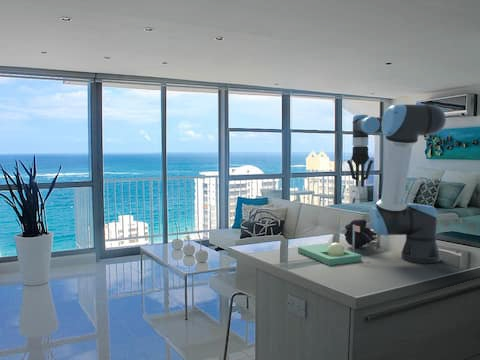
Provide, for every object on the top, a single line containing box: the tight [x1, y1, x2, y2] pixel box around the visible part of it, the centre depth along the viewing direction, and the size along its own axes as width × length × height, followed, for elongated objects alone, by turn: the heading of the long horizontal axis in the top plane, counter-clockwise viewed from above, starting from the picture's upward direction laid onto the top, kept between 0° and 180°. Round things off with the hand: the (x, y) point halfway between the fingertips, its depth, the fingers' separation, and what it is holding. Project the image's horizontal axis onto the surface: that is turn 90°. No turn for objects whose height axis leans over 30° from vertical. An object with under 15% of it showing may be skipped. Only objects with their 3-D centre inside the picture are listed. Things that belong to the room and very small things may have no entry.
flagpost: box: [352, 225, 360, 253], centre depth 178 cm, size 4×1×14 cm, turn 23°
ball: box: [327, 242, 345, 257], centre depth 176 cm, size 7×7×7 cm
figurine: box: [339, 219, 381, 249], centre depth 199 cm, size 14×13×30 cm
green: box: [297, 243, 363, 266], centre depth 181 cm, size 24×16×2 cm, turn 23°
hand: (359, 193), depth 209 cm, fingers closed
